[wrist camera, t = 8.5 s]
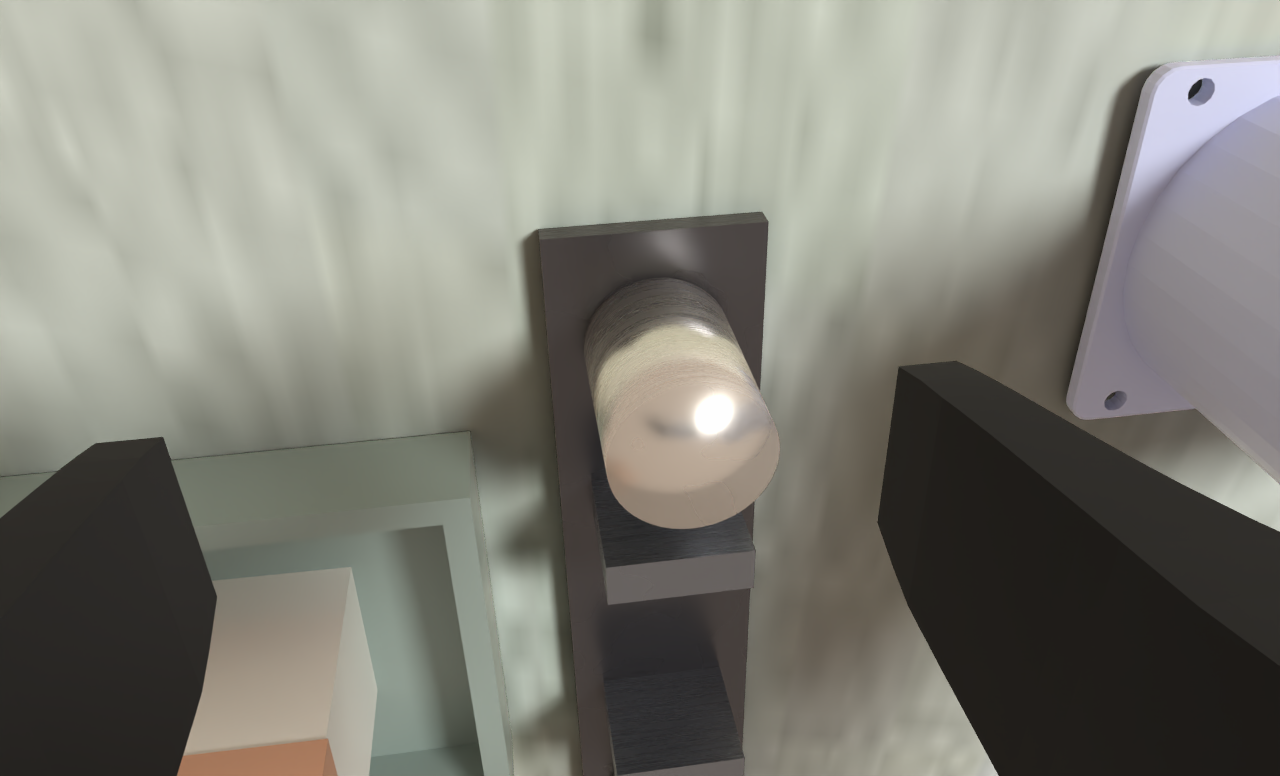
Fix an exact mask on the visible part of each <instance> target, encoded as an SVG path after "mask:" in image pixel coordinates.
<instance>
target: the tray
mask: <svg viewBox="0 0 1280 776" xmlns="http://www.w3.org/2000/svg"><path fill="white" fill-rule="evenodd" d="M171 462H172V465H173V468H174V471H175V474H176V477H177V480H178V483H179V486H180V488H181V491H182V494H183V497H184V500H185V503H186V506H187V509H188V512H189V515H190V518H191V521H192V524H193V527H194V530H195V533H196V536H197V539H198V542H199V545H200V547H201V550H202V553H203V556H204V559H205V562H206V565H207V568H208V571H209V574H210V577H211V580H212V581H215V580H225V579H235V578H245V577H255V576H265V575H275V574H285V573H295V572H305V571H315V570H325V569H335V568H345V567H351V568H352V573H353V578H354V582H355V587H356V592H357V596H358V601H359V606H360V610H361V615H362V620H363V624H364V629H365V634H366V638H367V643H368V648H369V652H370V657H371V662H372V666H373V671H374V676H375V680H376V685H377V700H376V710H375V720H374V730H373V740H372V751H371V761H370V771H369V776H514V768H513V745H512V733H511V725H510V718H509V711H508V704H507V696H506V689H505V682H504V675H503V667H502V660H501V653H500V646H499V638H498V631H497V624H496V616H495V609H494V602H493V595H492V587H491V580H490V573H489V566H488V558H487V551H486V544H485V536H484V529H483V522H482V515H481V507H480V500H479V493H478V486H477V478H476V471H475V464H474V457H473V449H472V442H471V435H470V431H466V432H455V433H445V434H435V435H425V436H415V437H404V438H394V439H384V440H374V441H364V442H354V443H343V444H333V445H323V446H313V447H303V448H293V449H282V450H272V451H262V452H252V453H242V454H232V455H221V456H211V457H201V458H191V459H181V460H171ZM55 473H56V472H49V473H38V474H28V475H18V476H8V477H0V518H1V517H2V516H3V515H5V514H6V513H7V512H8V511H9V510H11V509H12V508H13V507H14V506H16V505H17V504H18V503H19V502H20V501H22V500H23V499H24V498H25V497H27V496H28V495H29V494H30V493H31V492H33V491H34V490H35V489H36V488H38V487H39V486H40V485H41V484H42V483H44V482H45V481H46V480H47V479H49V478H50V477H51V476H52V475H54V474H55Z"/></svg>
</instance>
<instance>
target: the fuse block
mask: <svg viewBox="0 0 1280 776" xmlns="http://www.w3.org/2000/svg"><path fill="white" fill-rule="evenodd" d="M538 234H539V246H540V258H541V270H542V283H543V295H544V307H545V319H546V331H547V343H548V355H549V368H550V380H551V392H552V404H553V416H554V428H555V440H556V453H557V465H558V477H559V489H560V501H561V513H562V525H563V538H564V550H565V562H566V574H567V586H568V598H569V610H570V623H571V635H572V647H573V659H574V671H575V683H576V696H577V708H578V720H579V732H580V744H581V756H582V768H583V776H744V761H745V758H744V754H743V750H742V739H743V720H744V700H745V680H746V660H747V640H748V620H749V600H750V588H754V571H755V552H756V551H755V548H754V545H753V542H752V540H753V520H754V501H755V500H756V499H757V498H758V497H759V496H760V495H761V494H762V492H763V491H764V490H765V489H766V487H767V486H768V484H769V483H770V481H771V479H772V477H773V475H774V473H775V471H776V468H777V464H778V461H779V454H780V441H779V435H778V431H777V429H776V426H775V423H774V421H773V419H772V417H771V415H770V412H769V410H768V408H767V406H766V404H765V401H764V399H763V397H762V395H761V393H760V380H761V360H762V340H763V320H764V300H765V280H766V261H767V241H768V220H767V219H766V217H765V216H764V214H763V213H762V212H754V213H741V214H728V215H715V216H702V217H689V218H676V219H664V220H651V221H638V222H625V223H612V224H599V225H586V226H573V227H560V228H547V229H538Z"/></svg>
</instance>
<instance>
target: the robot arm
mask: <svg viewBox="0 0 1280 776" xmlns="http://www.w3.org/2000/svg"><path fill="white" fill-rule="evenodd" d="M1200 79H1202V86H1201V88H1200V90H1199V92H1198V93H1197V94H1196V95H1195V96H1194V97H1192V98H1190V99H1188V92H1189V90H1190V88H1191V86H1192V85H1193V84H1194V83H1195V82H1197V81H1198V80H1200ZM1116 391H1117V392H1116ZM1113 392H1116V394H1115V395H1114V396H1113V397H1112V398H1111V399H1109V400H1106V398H1107V397H1108V396H1109V395H1110V394H1111V393H1113ZM1105 400H1106V401H1105ZM1066 404H1067V406H1068V408H1069V409H1070V410H1071V411H1072V412H1073V414H1074V415H1075V416H1077V417H1078V418H1080V419H1084V420H1093V419H1103V418H1112V417H1122V416H1131V415H1141V414H1151V413H1160V412H1170V411H1179V410H1189V409H1197V410H1198V411H1199V412H1200V413H1201V414H1202V415H1203V416H1205V417H1206V418H1207V419H1208V420H1209V421H1210V422H1211V423H1212V424H1213V425H1215V426H1216V427H1217V428H1218V429H1219V430H1220V431H1221V432H1222V433H1223V434H1225V435H1226V436H1227V437H1228V438H1229V439H1230V440H1231V441H1232V442H1233V443H1235V444H1236V445H1237V446H1238V447H1239V448H1240V449H1241V450H1242V451H1243V452H1245V453H1246V454H1247V455H1248V456H1249V457H1250V458H1251V459H1252V460H1253V461H1255V462H1256V463H1257V464H1258V465H1259V466H1260V467H1261V468H1262V469H1263V470H1265V471H1266V472H1267V473H1268V474H1269V475H1270V476H1271V477H1272V478H1273V479H1275V480H1276V481H1277V482H1278V483H1279V484H1280V55H1277V56H1261V57H1245V58H1230V59H1214V60H1198V61H1182V62H1171V63H1168V64H1164V65H1162V66H1160V67H1159V68H1157V69H1156V70H1154V71H1153V72H1152V74H1151V75H1150V76H1149V77H1148V78H1147V80H1146V81H1145V84H1144V86H1143V89H1142V91H1141V95H1140V99H1139V104H1138V108H1137V112H1136V116H1135V120H1134V124H1133V128H1132V132H1131V136H1130V140H1129V144H1128V148H1127V152H1126V156H1125V161H1124V165H1123V169H1122V173H1121V177H1120V181H1119V185H1118V189H1117V193H1116V197H1115V201H1114V205H1113V209H1112V213H1111V217H1110V222H1109V226H1108V230H1107V234H1106V238H1105V242H1104V246H1103V250H1102V254H1101V258H1100V262H1099V266H1098V270H1097V274H1096V279H1095V283H1094V287H1093V291H1092V295H1091V299H1090V303H1089V307H1088V311H1087V315H1086V319H1085V323H1084V327H1083V331H1082V336H1081V340H1080V344H1079V348H1078V352H1077V356H1076V360H1075V364H1074V368H1073V372H1072V376H1071V380H1070V384H1069V388H1068V393H1067V397H1066ZM878 525H879V528H880V531H881V534H882V536H883V539H884V542H885V545H886V548H887V551H888V554H889V556H890V559H891V562H892V565H893V568H894V570H895V573H896V576H897V578H898V581H899V583H900V586H901V589H902V591H903V594H904V596H905V599H906V601H907V604H908V606H909V608H910V610H911V612H912V614H913V616H914V618H915V620H916V622H917V624H918V626H919V628H920V630H921V632H922V633H923V635H924V637H925V639H926V641H927V643H928V645H929V647H930V649H931V650H932V652H933V654H934V656H935V658H936V660H937V662H938V664H939V666H940V668H941V669H942V671H943V673H944V675H945V677H946V679H947V681H948V682H949V684H950V686H951V688H952V690H953V692H954V694H955V695H956V697H957V699H958V701H959V703H960V705H961V707H962V708H963V710H964V712H965V714H966V716H967V718H968V719H969V721H970V723H971V725H972V727H973V729H974V731H975V732H976V734H977V736H978V738H979V740H980V742H981V744H982V745H983V747H984V749H985V751H986V753H987V755H988V757H989V758H990V760H991V762H992V764H993V766H994V768H995V770H996V771H997V773H998V775H999V776H1280V532H1279V531H1277V530H1275V529H1272V528H1270V527H1268V526H1266V525H1264V524H1261V523H1259V522H1257V521H1255V520H1253V519H1251V518H1249V517H1247V516H1245V515H1243V514H1241V513H1239V512H1237V511H1235V510H1233V509H1231V508H1229V507H1227V506H1225V505H1223V504H1221V503H1219V502H1217V501H1215V500H1212V499H1210V498H1208V497H1206V496H1204V495H1202V494H1200V493H1198V492H1196V491H1194V490H1192V489H1190V488H1188V487H1186V486H1184V485H1182V484H1180V483H1179V482H1177V481H1175V480H1173V479H1171V478H1169V477H1167V476H1165V475H1163V474H1162V473H1160V472H1158V471H1156V470H1154V469H1152V468H1150V467H1148V466H1146V465H1145V464H1143V463H1141V462H1139V461H1137V460H1135V459H1134V458H1132V457H1130V456H1128V455H1126V454H1124V453H1123V452H1121V451H1119V450H1117V449H1115V448H1114V447H1112V446H1110V445H1108V444H1107V443H1105V442H1103V441H1101V440H1099V439H1098V438H1096V437H1094V436H1092V435H1090V434H1089V433H1087V432H1085V431H1083V430H1082V429H1080V428H1078V427H1076V426H1075V425H1073V424H1071V423H1069V422H1068V421H1066V420H1064V419H1062V418H1061V417H1059V416H1057V415H1055V414H1054V413H1052V412H1050V411H1048V410H1047V409H1045V408H1043V407H1041V406H1040V405H1038V404H1036V403H1035V402H1033V401H1031V400H1029V399H1028V398H1026V397H1024V396H1022V395H1020V394H1019V393H1017V392H1015V391H1013V390H1012V389H1010V388H1008V387H1006V386H1004V385H1003V384H1001V383H999V382H997V381H995V380H994V379H992V378H990V377H988V376H986V375H984V374H982V373H980V372H978V371H976V370H974V369H972V368H970V367H968V366H966V365H964V364H962V363H960V362H957V361H951V362H941V363H930V364H920V365H909V366H899V368H898V376H897V383H896V391H895V398H894V405H893V413H892V420H891V427H890V435H889V442H888V449H887V457H886V464H885V471H884V479H883V486H882V493H881V501H880V508H879V515H878ZM216 602H217V595H216V592H215V589H214V586H213V583H212V580H211V577H210V574H209V571H208V568H207V565H206V562H205V559H204V556H203V553H202V550H201V547H200V545H199V542H198V539H197V536H196V533H195V530H194V527H193V524H192V521H191V518H190V515H189V512H188V509H187V506H186V503H185V500H184V497H183V494H182V491H181V488H180V486H179V483H178V480H177V477H176V474H175V471H174V468H173V465H172V462H171V459H170V456H169V453H168V450H167V447H166V444H165V441H164V438H163V437H158V438H147V439H137V440H126V441H116V442H106V443H96V444H94V445H93V446H91V447H90V448H88V449H87V450H85V451H84V452H83V453H81V454H80V455H78V456H77V457H76V458H74V459H73V460H72V461H70V462H69V463H68V464H66V465H65V466H64V467H63V468H61V469H60V470H59V471H57V472H56V473H55V474H54V475H52V476H51V477H50V478H49V479H47V480H46V481H45V482H44V483H42V484H41V485H40V486H39V487H38V488H36V489H35V490H34V491H33V492H31V493H30V494H29V495H28V496H27V497H25V498H24V499H23V500H22V501H20V502H19V503H18V504H17V505H16V506H14V507H13V508H12V509H11V510H9V511H8V512H7V513H6V514H5V515H3V516H2V517H1V518H0V776H177V774H178V771H179V767H180V764H181V761H182V758H183V754H184V751H185V748H186V744H187V741H188V738H189V734H190V731H191V728H192V725H193V721H194V718H195V715H196V711H197V708H198V704H199V701H200V697H201V694H202V690H203V684H204V678H205V673H206V667H207V661H208V656H209V650H210V643H211V637H212V630H213V623H214V616H215V609H216Z"/></svg>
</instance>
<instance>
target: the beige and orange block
mask: <svg viewBox="0 0 1280 776" xmlns="http://www.w3.org/2000/svg"><path fill="white" fill-rule="evenodd" d="M212 583H213V586H214V589H215V592H216V595H217V602H216V609H215V616H214V623H213V630H212V637H211V643H210V650H209V656H208V661H207V667H206V673H205V678H204V684H203V690H202V694H201V697H200V701H199V704H198V708H197V711H196V715H195V718H194V721H193V725H192V728H191V731H190V734H189V738H188V741H187V744H186V748H185V751H184V754H183V758H182V761H181V764H180V767H179V771H178V774H177V776H369V771H370V761H371V751H372V740H373V730H374V720H375V710H376V700H377V685H376V680H375V676H374V671H373V666H372V662H371V657H370V652H369V648H368V643H367V638H366V634H365V629H364V624H363V620H362V615H361V610H360V606H359V601H358V596H357V592H356V587H355V582H354V578H353V573H352V568H351V567H345V568H335V569H325V570H315V571H305V572H295V573H285V574H275V575H265V576H255V577H245V578H235V579H225V580H215V581H212Z"/></svg>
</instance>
